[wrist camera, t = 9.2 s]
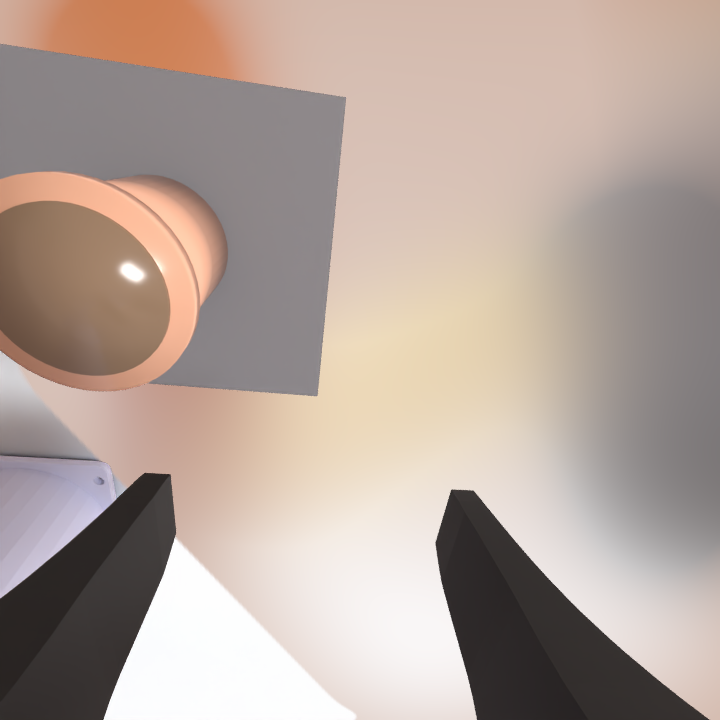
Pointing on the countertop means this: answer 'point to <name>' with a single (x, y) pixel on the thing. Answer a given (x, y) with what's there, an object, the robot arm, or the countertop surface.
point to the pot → (103, 275)
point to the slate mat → (203, 192)
